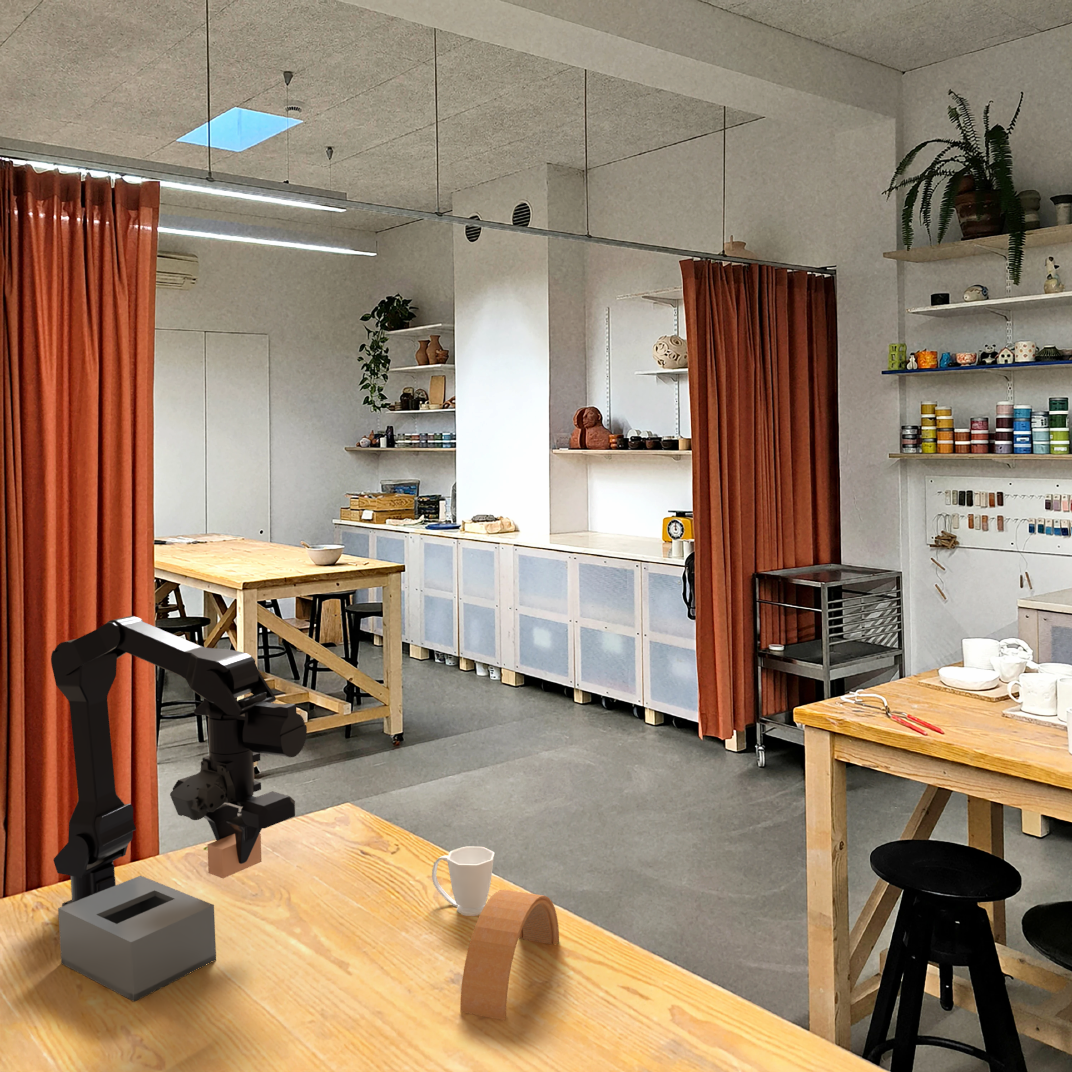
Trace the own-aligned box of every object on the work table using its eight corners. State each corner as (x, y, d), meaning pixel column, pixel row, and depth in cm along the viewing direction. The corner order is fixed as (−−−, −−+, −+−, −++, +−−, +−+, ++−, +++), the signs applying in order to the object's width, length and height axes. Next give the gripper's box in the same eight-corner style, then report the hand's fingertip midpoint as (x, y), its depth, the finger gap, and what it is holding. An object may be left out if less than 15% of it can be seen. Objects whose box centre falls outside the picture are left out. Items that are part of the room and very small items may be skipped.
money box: (61, 963, 134) (58, 908, 133) (143, 927, 144) (140, 875, 143) (134, 1001, 125) (131, 942, 124) (216, 960, 135) (213, 904, 134)
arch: (560, 942, 139) (560, 871, 138) (504, 1021, 120) (503, 939, 119) (520, 935, 141) (519, 865, 140) (458, 1012, 122) (457, 931, 121)
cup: (480, 924, 144) (479, 868, 143) (420, 910, 148) (419, 856, 148) (504, 903, 150) (504, 850, 149) (446, 890, 155) (445, 838, 154)
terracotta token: (208, 873, 138) (207, 844, 138) (247, 856, 144) (246, 829, 143) (223, 878, 137) (222, 849, 136) (261, 861, 142) (260, 833, 142)
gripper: (136, 751, 137) (140, 864, 139) (227, 777, 127) (231, 899, 128) (205, 731, 146) (209, 837, 148) (296, 754, 136) (299, 868, 137)
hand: (234, 859), depth 140 cm, fingers closed on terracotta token, 3 cm apart
